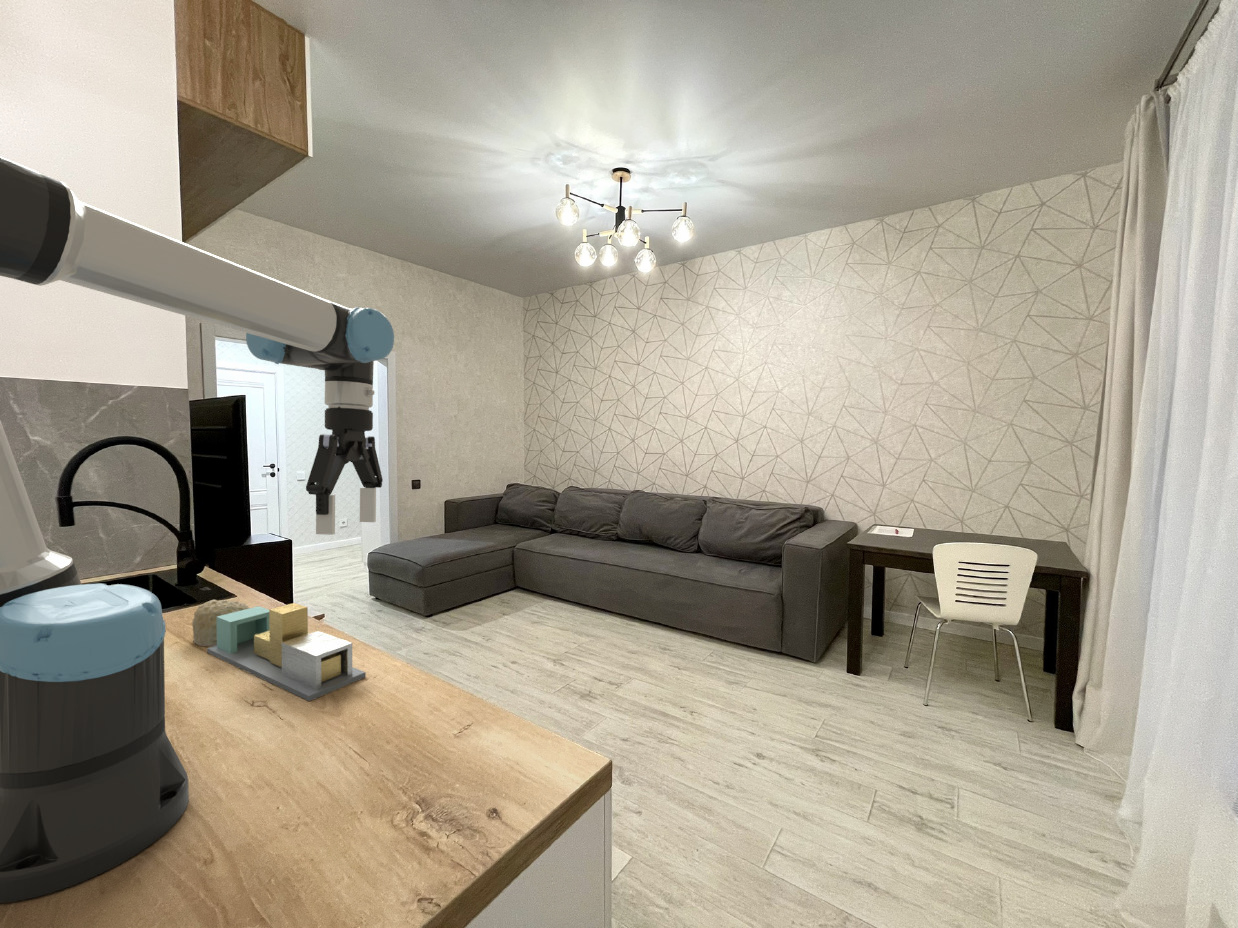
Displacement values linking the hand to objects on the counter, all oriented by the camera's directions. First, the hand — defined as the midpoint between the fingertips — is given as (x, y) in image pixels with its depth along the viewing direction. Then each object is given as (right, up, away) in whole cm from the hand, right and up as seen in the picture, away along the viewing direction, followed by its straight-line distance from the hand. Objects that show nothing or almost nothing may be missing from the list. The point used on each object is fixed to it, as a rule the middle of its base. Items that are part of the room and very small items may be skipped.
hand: (348, 527), depth 90 cm
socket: (-20, -22, +3) cm, 30 cm away
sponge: (-28, -22, +8) cm, 37 cm away
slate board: (-9, -23, -4) cm, 25 cm away
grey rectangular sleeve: (0, -23, -9) cm, 25 cm away
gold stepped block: (-6, -22, -6) cm, 23 cm away
